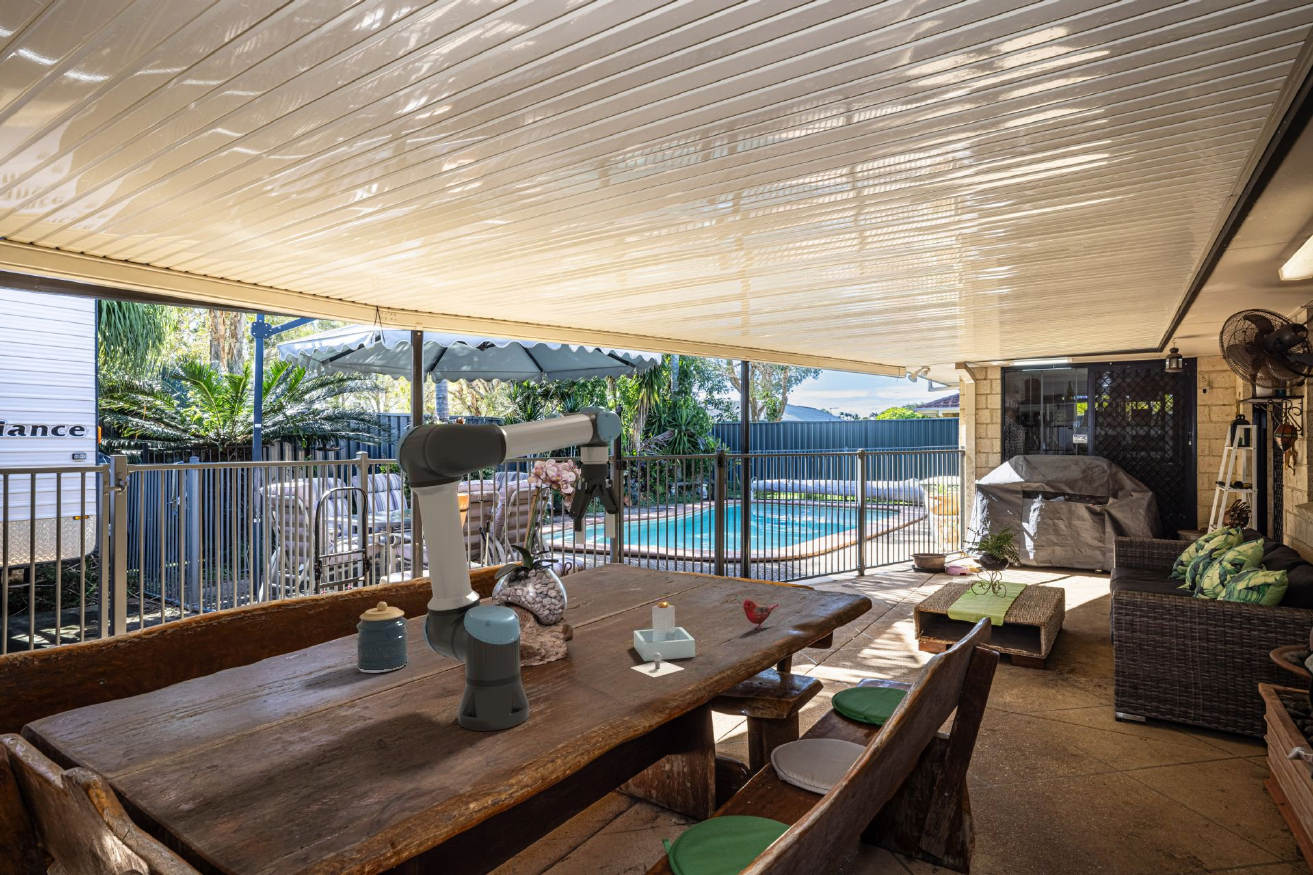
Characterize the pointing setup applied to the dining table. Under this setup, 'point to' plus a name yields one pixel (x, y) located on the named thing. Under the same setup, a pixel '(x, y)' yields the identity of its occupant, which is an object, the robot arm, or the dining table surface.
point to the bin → (664, 645)
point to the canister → (382, 638)
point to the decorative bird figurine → (757, 612)
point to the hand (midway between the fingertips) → (595, 540)
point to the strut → (663, 622)
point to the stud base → (657, 667)
